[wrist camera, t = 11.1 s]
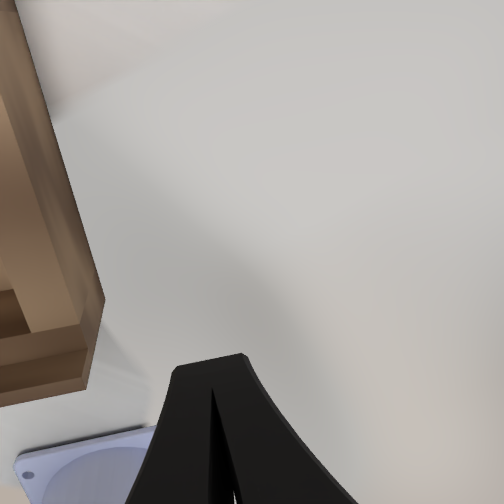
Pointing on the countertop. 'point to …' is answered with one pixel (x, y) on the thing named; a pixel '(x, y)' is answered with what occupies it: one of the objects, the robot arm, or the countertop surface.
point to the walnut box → (39, 242)
